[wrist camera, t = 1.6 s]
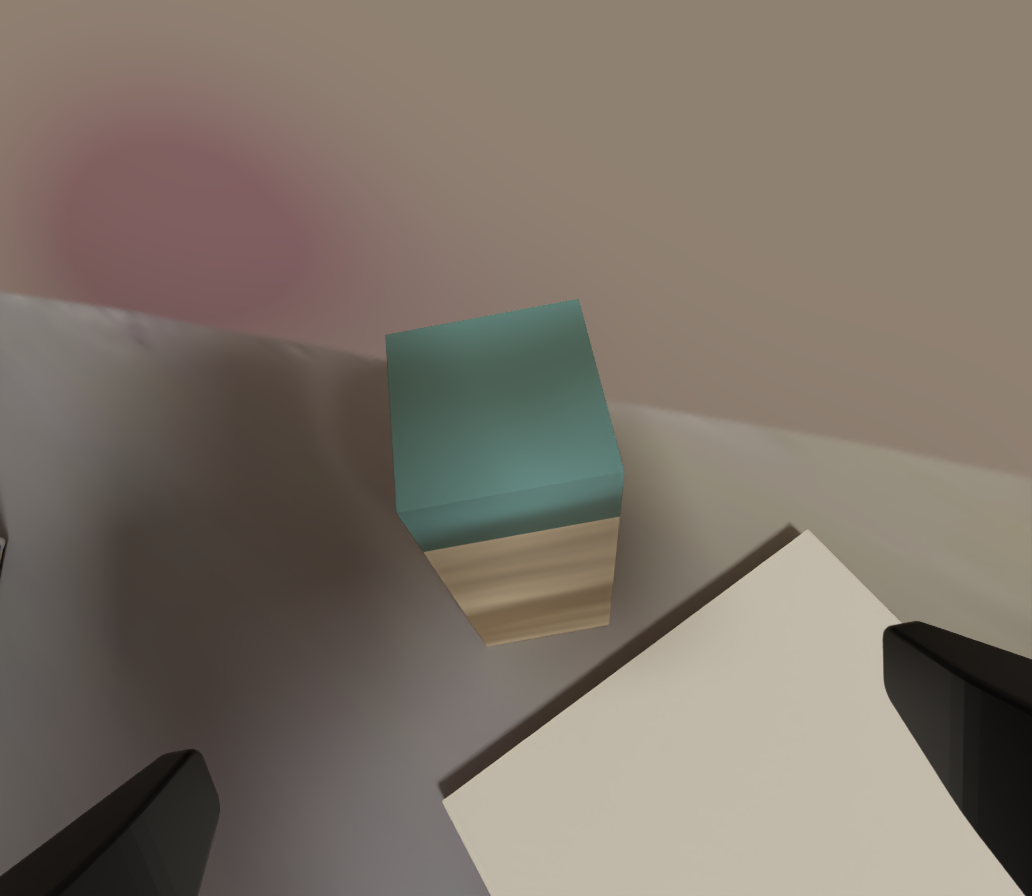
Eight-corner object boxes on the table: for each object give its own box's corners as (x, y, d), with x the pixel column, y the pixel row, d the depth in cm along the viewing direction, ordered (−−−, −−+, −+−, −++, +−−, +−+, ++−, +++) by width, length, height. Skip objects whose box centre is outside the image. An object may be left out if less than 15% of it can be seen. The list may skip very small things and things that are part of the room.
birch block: (608, 624, 21) (624, 471, 11) (486, 646, 21) (396, 512, 11) (583, 512, 23) (578, 298, 13) (472, 532, 23) (385, 334, 13)
